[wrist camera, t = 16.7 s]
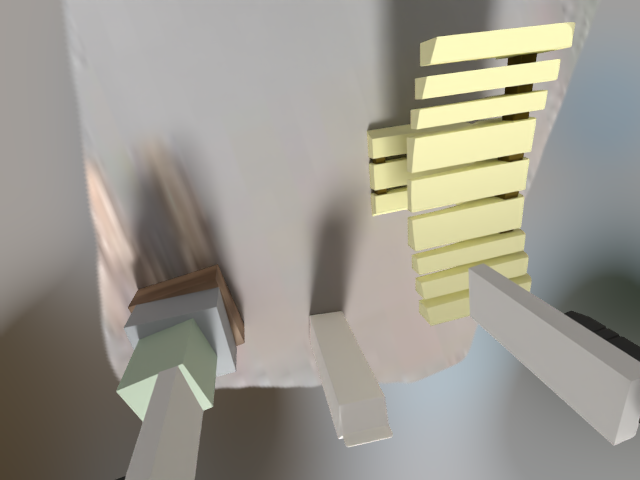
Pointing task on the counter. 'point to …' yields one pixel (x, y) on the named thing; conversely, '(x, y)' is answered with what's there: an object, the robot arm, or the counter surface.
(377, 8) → the counter surface
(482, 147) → the slatted curved stool
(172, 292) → the tower base
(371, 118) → the counter surface
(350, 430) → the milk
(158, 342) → the sage block
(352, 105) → the counter surface
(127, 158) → the counter surface
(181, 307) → the tower top
